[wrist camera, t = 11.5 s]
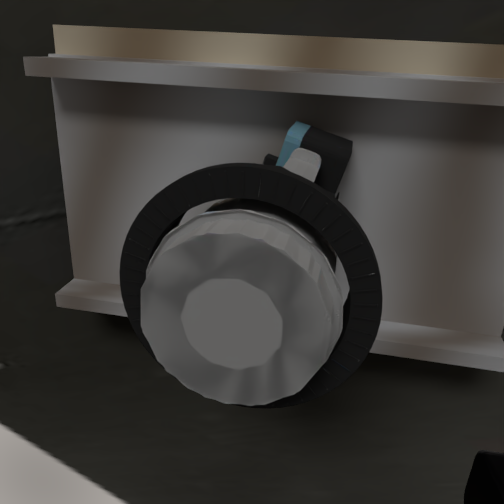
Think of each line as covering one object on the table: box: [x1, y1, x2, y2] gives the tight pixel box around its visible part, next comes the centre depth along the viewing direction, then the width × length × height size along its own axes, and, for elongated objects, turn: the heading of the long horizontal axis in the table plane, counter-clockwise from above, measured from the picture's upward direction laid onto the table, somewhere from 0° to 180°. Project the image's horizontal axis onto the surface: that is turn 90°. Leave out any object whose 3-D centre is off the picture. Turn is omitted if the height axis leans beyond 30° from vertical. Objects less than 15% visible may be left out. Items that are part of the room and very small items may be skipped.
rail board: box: [23, 25, 504, 372], centre depth 18 cm, size 18×12×3 cm, turn 87°
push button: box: [119, 121, 383, 408], centre depth 13 cm, size 7×5×10 cm
